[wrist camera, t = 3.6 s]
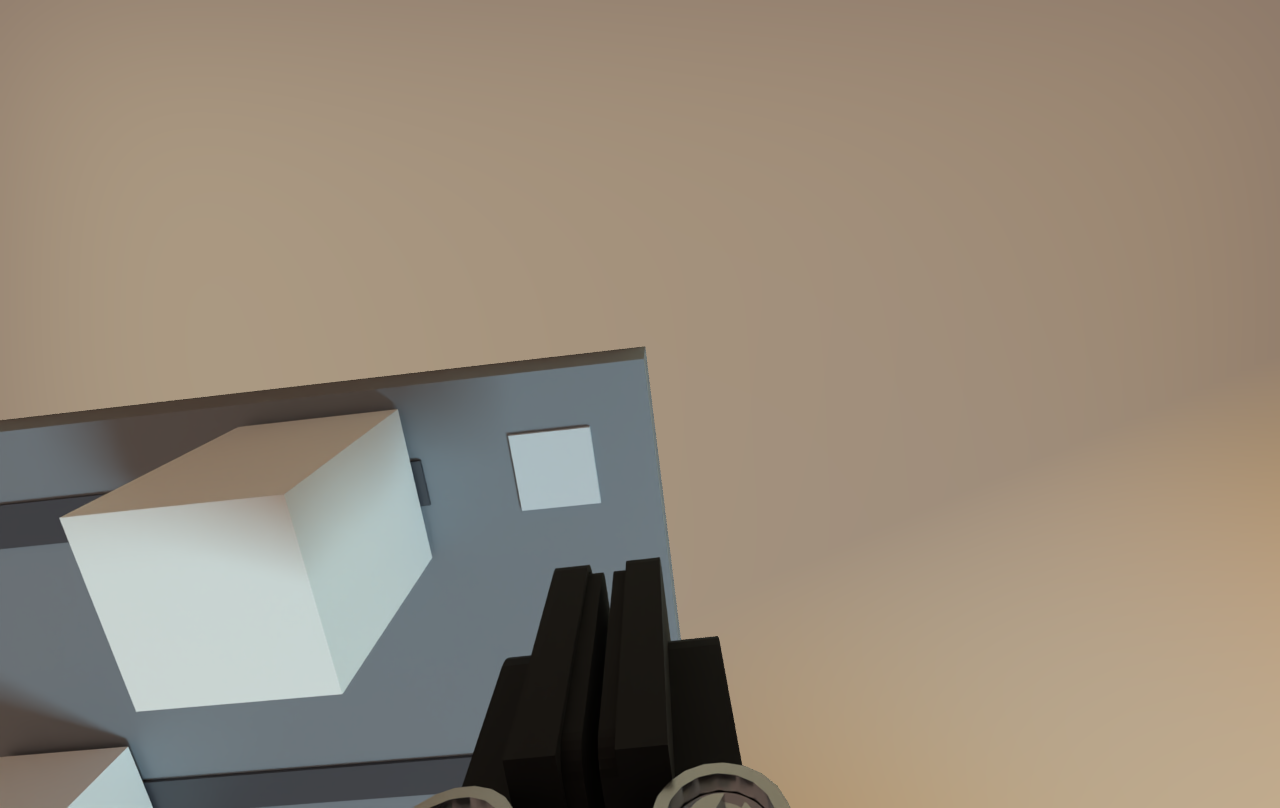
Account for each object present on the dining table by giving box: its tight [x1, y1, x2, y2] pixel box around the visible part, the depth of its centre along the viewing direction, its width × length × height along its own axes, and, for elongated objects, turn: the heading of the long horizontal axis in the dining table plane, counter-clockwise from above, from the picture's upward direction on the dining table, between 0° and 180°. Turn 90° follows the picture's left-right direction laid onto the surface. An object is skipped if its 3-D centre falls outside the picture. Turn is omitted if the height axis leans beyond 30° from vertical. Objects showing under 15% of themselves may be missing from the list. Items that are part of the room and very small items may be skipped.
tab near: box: [59, 409, 432, 712], centre depth 14 cm, size 4×4×5 cm
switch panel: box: [0, 347, 681, 808], centre depth 19 cm, size 24×14×2 cm, turn 97°
